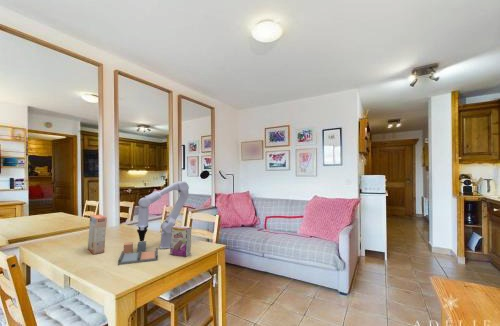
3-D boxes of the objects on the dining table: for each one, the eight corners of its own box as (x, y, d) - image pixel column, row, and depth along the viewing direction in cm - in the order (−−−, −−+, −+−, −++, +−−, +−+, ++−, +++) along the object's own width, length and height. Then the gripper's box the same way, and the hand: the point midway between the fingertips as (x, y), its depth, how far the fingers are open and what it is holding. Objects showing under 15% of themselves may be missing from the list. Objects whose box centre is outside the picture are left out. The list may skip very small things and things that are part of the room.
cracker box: (105, 252, 132) (107, 217, 134) (92, 255, 128) (95, 218, 129) (98, 247, 142) (100, 213, 143) (87, 249, 138) (89, 215, 139)
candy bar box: (169, 254, 132) (170, 226, 132) (175, 252, 136) (176, 225, 137) (185, 257, 128) (186, 228, 129) (190, 254, 133) (191, 226, 133)
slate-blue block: (145, 249, 140) (146, 241, 141) (145, 251, 136) (146, 243, 137) (137, 249, 139) (138, 241, 139) (137, 252, 135) (137, 243, 135)
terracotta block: (132, 250, 138) (133, 242, 138) (131, 252, 133) (132, 244, 134) (124, 251, 136) (124, 242, 136) (123, 253, 132) (123, 245, 132)
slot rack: (157, 252, 136) (157, 247, 136) (157, 260, 123) (157, 255, 123) (121, 255, 128) (122, 251, 128) (118, 264, 115) (118, 260, 115)
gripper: (137, 215, 144) (135, 236, 143) (135, 219, 130) (133, 243, 130) (149, 215, 147) (148, 235, 146) (148, 219, 133) (147, 242, 132)
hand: (142, 239), depth 138 cm, fingers open, 7 cm apart
